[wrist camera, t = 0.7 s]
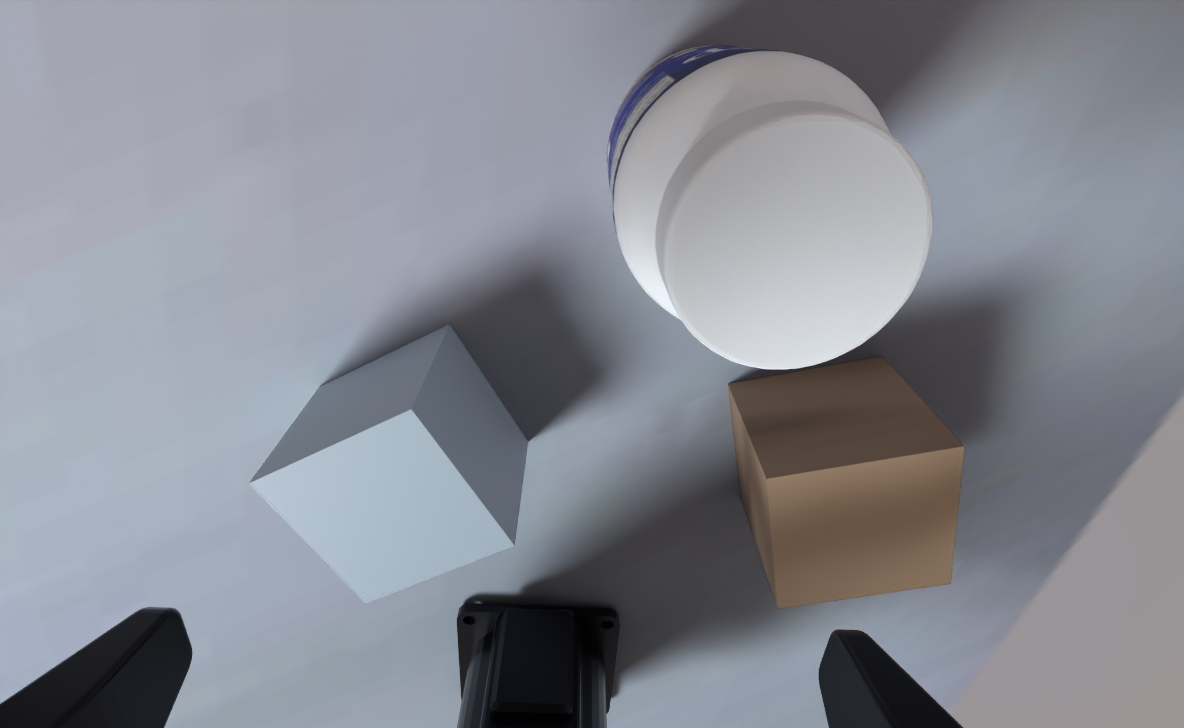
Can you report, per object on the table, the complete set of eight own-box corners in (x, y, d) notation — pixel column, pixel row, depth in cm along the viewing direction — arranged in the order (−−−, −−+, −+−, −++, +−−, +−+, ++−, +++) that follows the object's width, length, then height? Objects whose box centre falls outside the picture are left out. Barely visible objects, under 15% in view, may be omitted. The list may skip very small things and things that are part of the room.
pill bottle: (835, 89, 16) (1067, 145, 8) (745, 268, 19) (863, 442, 11) (647, 9, 15) (714, -9, 8) (577, 209, 18) (573, 352, 10)
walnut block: (878, 474, 23) (950, 583, 18) (740, 497, 23) (777, 609, 19) (881, 355, 20) (964, 446, 16) (727, 382, 21) (766, 479, 16)
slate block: (528, 440, 22) (514, 545, 17) (407, 491, 23) (365, 603, 18) (449, 322, 19) (411, 409, 15) (320, 385, 20) (248, 483, 16)
